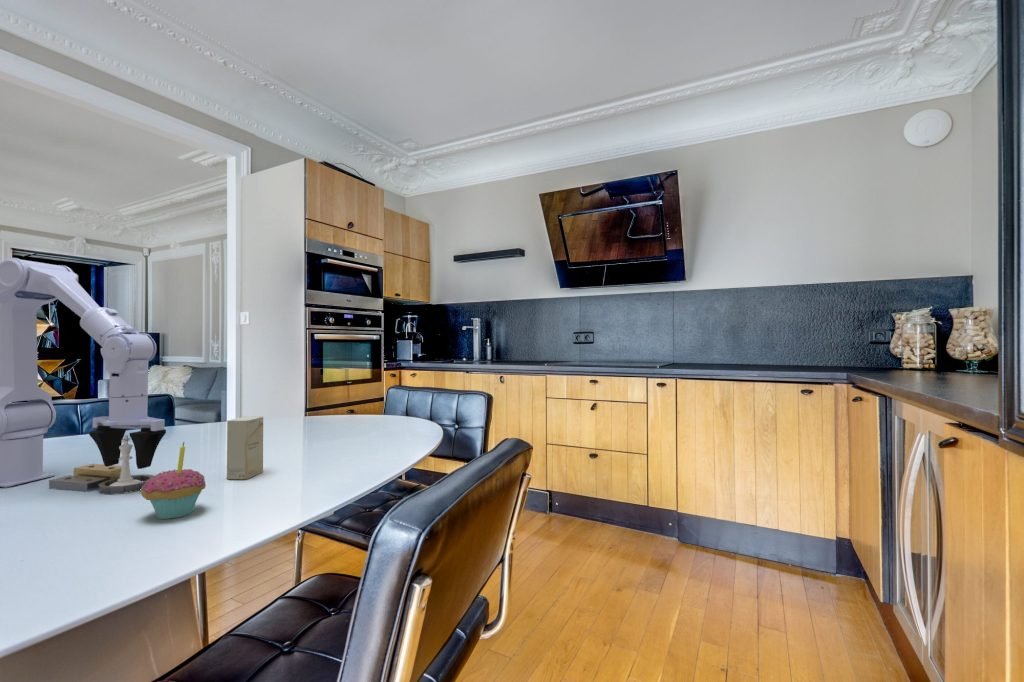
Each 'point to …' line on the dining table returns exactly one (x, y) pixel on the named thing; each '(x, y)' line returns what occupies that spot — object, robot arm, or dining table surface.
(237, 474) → the skincare box
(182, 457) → the cupcake
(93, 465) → the tan wooden block
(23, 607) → the dining table surface
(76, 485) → the dark gray flat piece
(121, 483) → the chess piece
